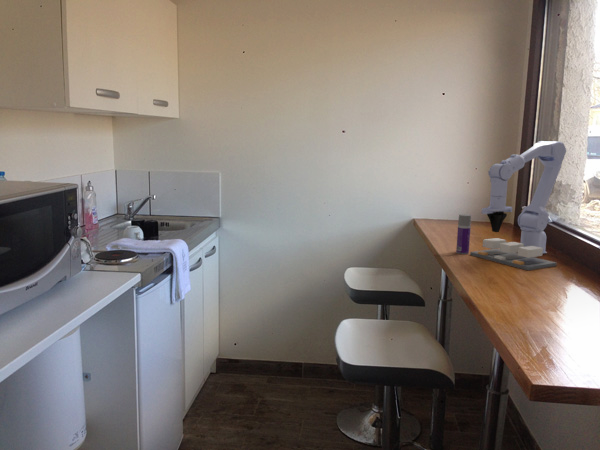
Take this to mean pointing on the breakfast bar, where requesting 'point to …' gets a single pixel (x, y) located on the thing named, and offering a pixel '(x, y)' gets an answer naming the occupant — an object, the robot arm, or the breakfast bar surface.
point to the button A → (493, 243)
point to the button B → (510, 247)
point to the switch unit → (513, 259)
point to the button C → (530, 251)
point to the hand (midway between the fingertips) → (495, 231)
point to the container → (463, 234)
